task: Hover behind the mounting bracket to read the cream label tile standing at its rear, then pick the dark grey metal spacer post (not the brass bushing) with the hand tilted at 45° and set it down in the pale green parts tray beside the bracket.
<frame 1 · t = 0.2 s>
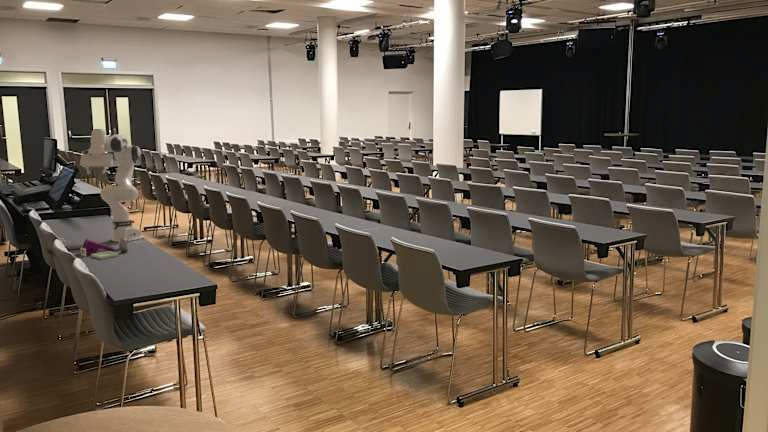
hand: (95, 173, 416), 52 cm above the table, tool tilted 20°, fingers open, 8 cm apart
mounting bracket: (99, 253, 421), on the table
label tile: (83, 255, 411), on the table
brass bushing: (122, 248, 432), on the table
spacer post: (124, 252, 420), on the table
parts tray: (104, 256, 409), on the table
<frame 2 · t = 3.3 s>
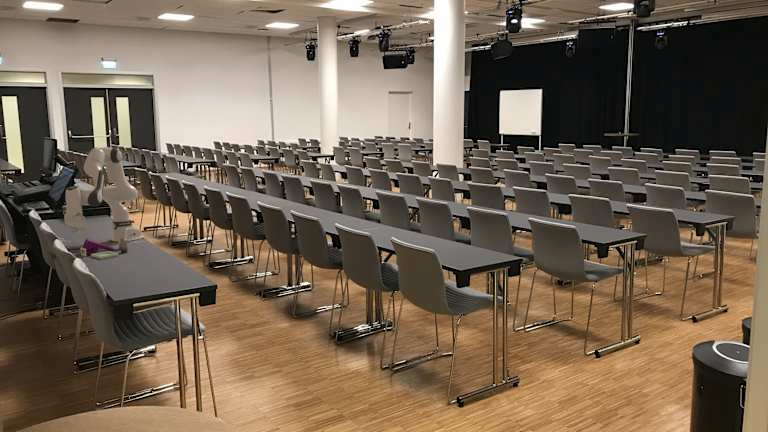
hand: (76, 233, 405), 15 cm above the table, tool pointing down, fingers open, 8 cm apart
nothing on the table moved.
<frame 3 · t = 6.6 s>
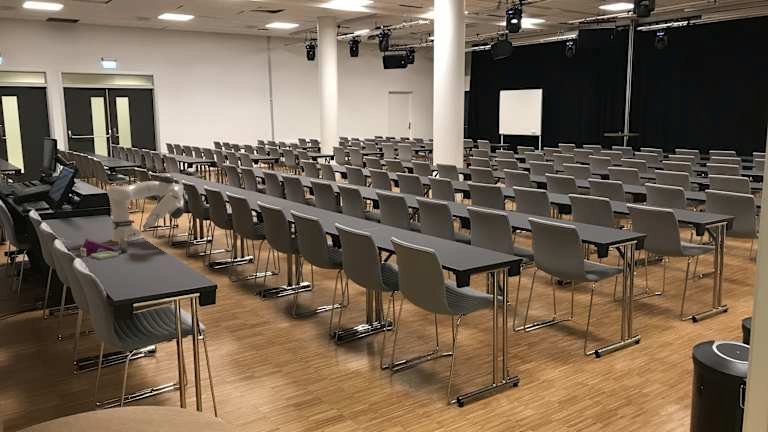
hand: (143, 228, 423), 15 cm above the table, tool tilted 45°, fingers open, 8 cm apart
nothing on the table moved.
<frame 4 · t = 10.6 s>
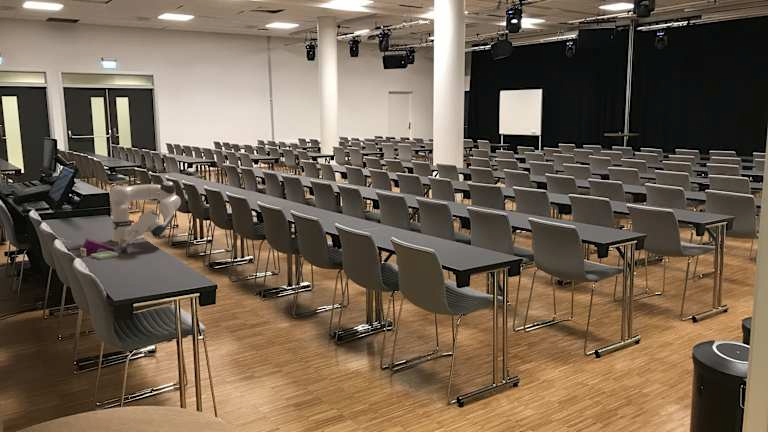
hand: (122, 245, 419), 5 cm above the table, tool tilted 45°, fingers closed on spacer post, 4 cm apart
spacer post: (124, 252, 420), on the table, touching gripper
everything else where it was.
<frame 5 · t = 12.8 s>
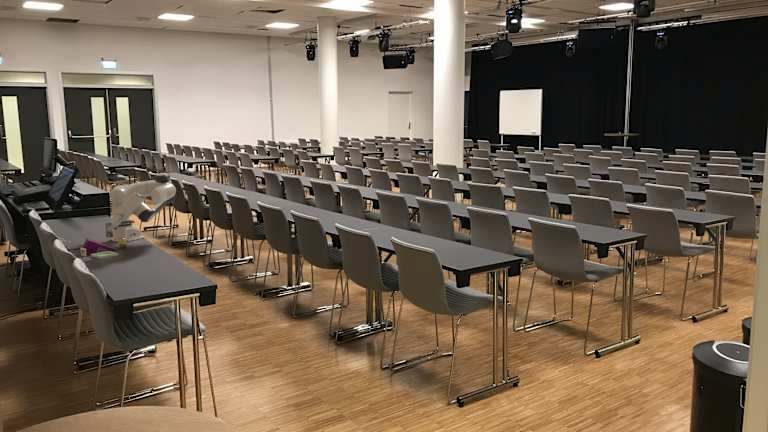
hand: (107, 229, 408), 17 cm above the table, tool tilted 45°, fingers closed on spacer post, 4 cm apart
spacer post: (109, 236, 409), point 12 cm above the table, touching gripper
everything else where it was.
when the fingers open (7 cm above the table, at t = 15.4 s): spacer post drops 1 cm, resting on parts tray.
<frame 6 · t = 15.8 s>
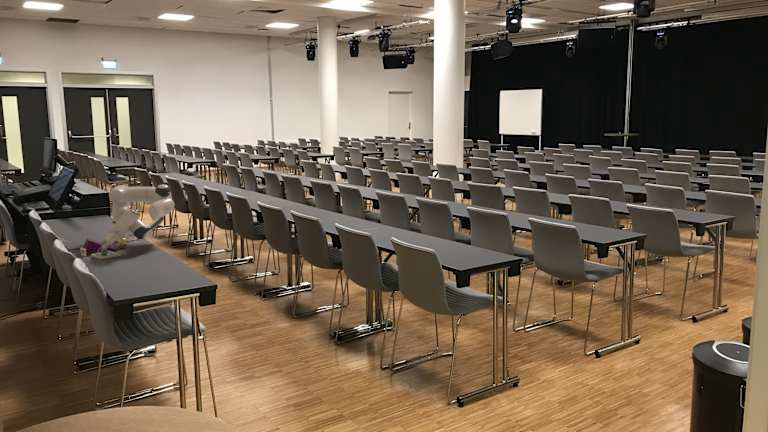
hand: (102, 246, 408), 7 cm above the table, tool tilted 45°, fingers open, 8 cm apart
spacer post: (104, 255, 409), point 1 cm above the table, touching parts tray
everything else where it was.
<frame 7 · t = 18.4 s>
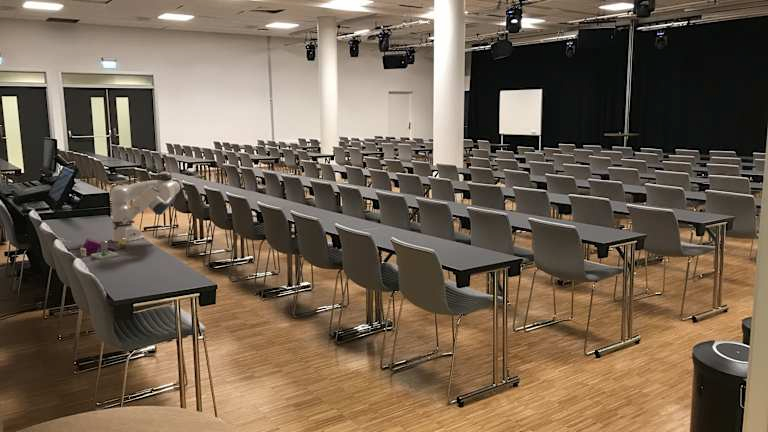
hand: (123, 222, 410), 21 cm above the table, tool tilted 45°, fingers open, 8 cm apart
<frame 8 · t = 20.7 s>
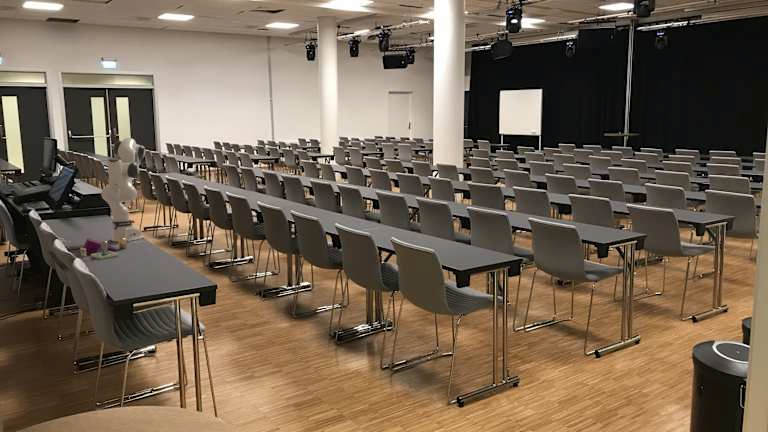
hand: (117, 204, 422), 31 cm above the table, tool pointing down, fingers open, 8 cm apart
at the end: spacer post inside the target area on the parts tray (0.1 cm from its centre), point 0.6 cm above the parts tray's base; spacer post tilted 0°; the gripper is holding nothing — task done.
